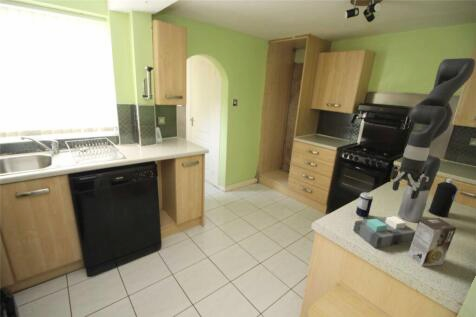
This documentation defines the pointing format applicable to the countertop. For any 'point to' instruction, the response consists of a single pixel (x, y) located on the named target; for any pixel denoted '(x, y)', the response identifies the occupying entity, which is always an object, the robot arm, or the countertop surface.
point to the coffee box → (431, 241)
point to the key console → (383, 234)
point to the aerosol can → (443, 198)
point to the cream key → (395, 222)
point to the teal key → (376, 225)
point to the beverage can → (364, 205)
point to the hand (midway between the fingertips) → (403, 194)
